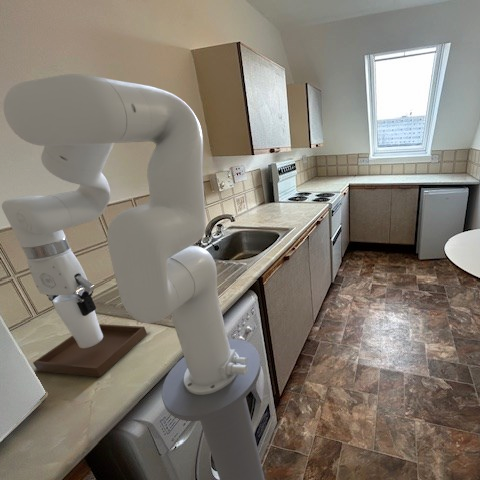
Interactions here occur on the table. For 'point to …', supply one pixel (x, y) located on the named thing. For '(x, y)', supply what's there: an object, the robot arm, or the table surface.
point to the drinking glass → (78, 321)
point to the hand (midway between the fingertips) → (77, 311)
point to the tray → (91, 352)
